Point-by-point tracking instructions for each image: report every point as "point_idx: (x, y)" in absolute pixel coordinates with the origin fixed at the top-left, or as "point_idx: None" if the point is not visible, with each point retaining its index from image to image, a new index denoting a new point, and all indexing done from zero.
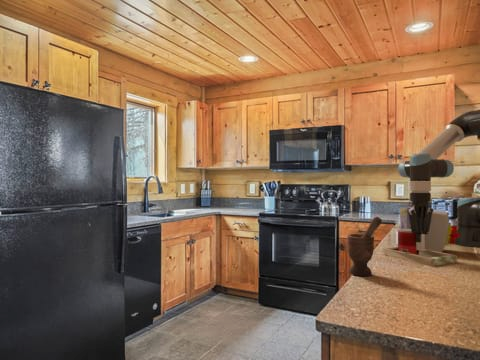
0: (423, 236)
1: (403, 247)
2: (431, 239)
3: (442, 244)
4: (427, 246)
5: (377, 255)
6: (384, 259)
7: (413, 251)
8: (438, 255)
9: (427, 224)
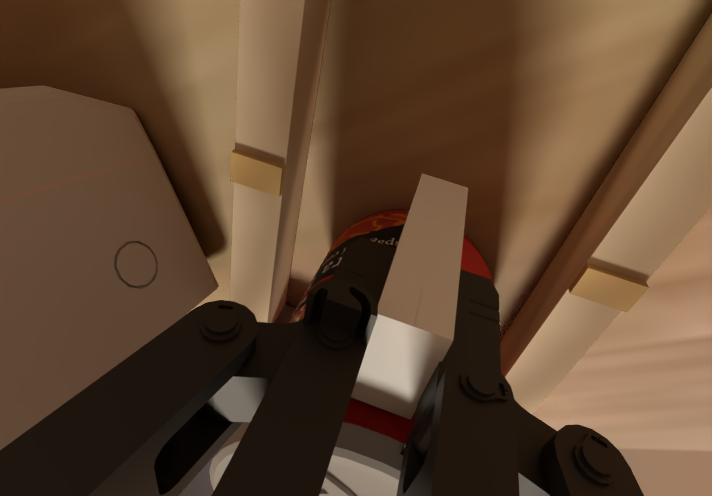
0: (418, 300)
1: None
2: (66, 237)
3: (30, 110)
4: (150, 229)
5: (557, 430)
6: (705, 379)
7: (461, 264)
8: (311, 36)
9: (109, 487)
